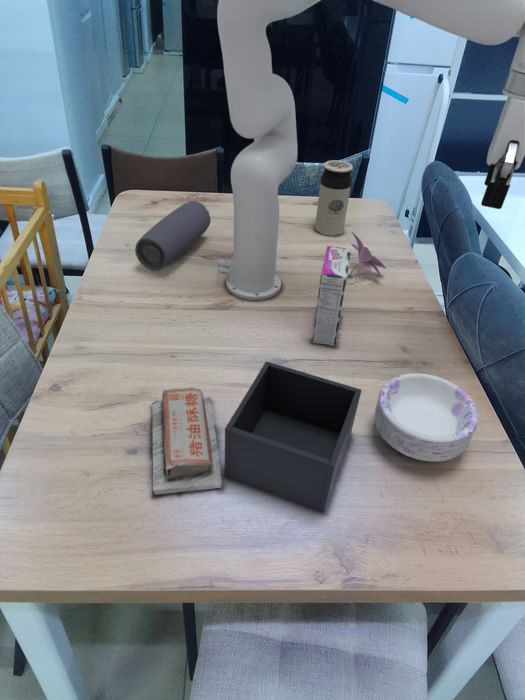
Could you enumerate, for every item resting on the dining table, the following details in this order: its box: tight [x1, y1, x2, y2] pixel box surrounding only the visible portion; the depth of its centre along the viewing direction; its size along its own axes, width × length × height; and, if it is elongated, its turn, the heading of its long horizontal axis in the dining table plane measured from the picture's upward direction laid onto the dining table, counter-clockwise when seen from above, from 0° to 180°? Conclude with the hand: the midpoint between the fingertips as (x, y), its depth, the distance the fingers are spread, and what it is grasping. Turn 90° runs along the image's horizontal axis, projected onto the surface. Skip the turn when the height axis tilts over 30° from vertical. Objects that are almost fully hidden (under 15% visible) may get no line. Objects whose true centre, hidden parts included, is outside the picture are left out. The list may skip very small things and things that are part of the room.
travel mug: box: [314, 159, 354, 236], centre depth 135 cm, size 8×8×18 cm
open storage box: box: [224, 360, 362, 513], centre depth 76 cm, size 16×16×11 cm
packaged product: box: [151, 386, 223, 496], centre depth 78 cm, size 18×5×10 cm
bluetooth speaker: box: [134, 200, 212, 272], centre depth 123 cm, size 23×9×10 cm, turn 159°
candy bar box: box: [312, 245, 352, 347], centre depth 100 cm, size 11×5×16 cm, turn 168°
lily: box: [348, 231, 387, 278], centre depth 121 cm, size 12×12×10 cm
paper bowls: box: [374, 372, 479, 462], centre depth 81 cm, size 15×15×8 cm
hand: (492, 196), depth 86 cm, fingers open, 9 cm apart
